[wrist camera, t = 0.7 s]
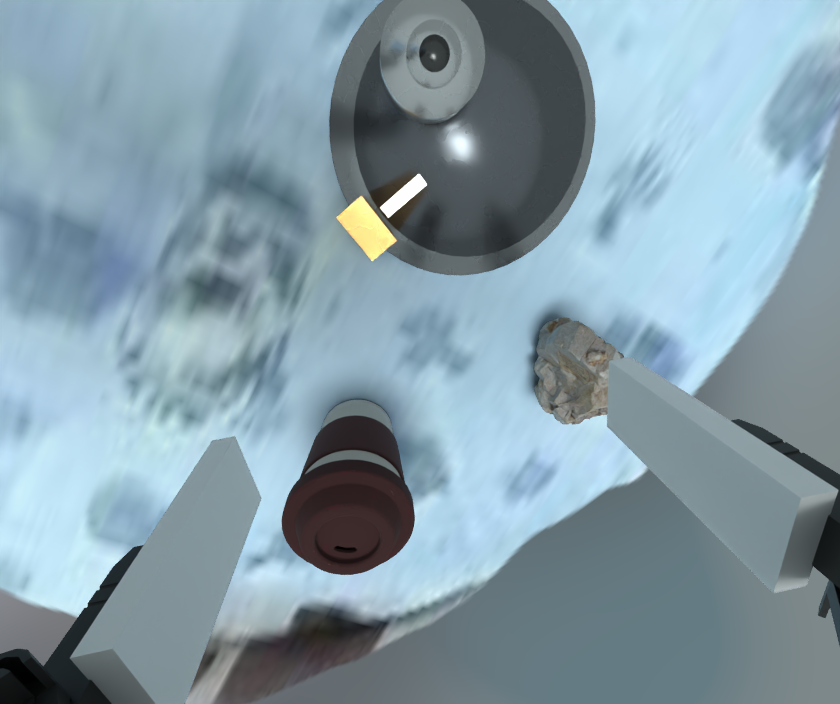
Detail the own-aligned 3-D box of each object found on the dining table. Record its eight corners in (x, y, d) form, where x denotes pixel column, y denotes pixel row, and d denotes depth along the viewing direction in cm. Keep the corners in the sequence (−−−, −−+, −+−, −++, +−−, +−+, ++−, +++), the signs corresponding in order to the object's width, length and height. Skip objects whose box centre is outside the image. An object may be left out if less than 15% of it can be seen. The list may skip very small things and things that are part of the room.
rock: (526, 392, 45) (608, 444, 40) (484, 384, 36) (583, 451, 30) (568, 324, 44) (658, 368, 38) (535, 297, 34) (649, 350, 29)
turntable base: (270, 112, 30) (268, 110, 30) (500, -110, 27) (503, -116, 26) (438, 319, 38) (439, 321, 37) (633, 168, 35) (638, 167, 34)
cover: (359, 55, 27) (357, 38, 24) (438, -20, 26) (445, -47, 23) (420, 145, 30) (425, 139, 27) (495, 79, 28) (507, 67, 26)
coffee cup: (355, 367, 39) (343, 462, 25) (422, 425, 42) (444, 536, 28) (290, 429, 41) (245, 548, 27) (359, 480, 44) (351, 609, 30)
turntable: (280, 140, 30) (263, 129, 26) (496, -64, 27) (520, -118, 22) (421, 311, 37) (428, 328, 32) (610, 162, 33) (647, 157, 29)
